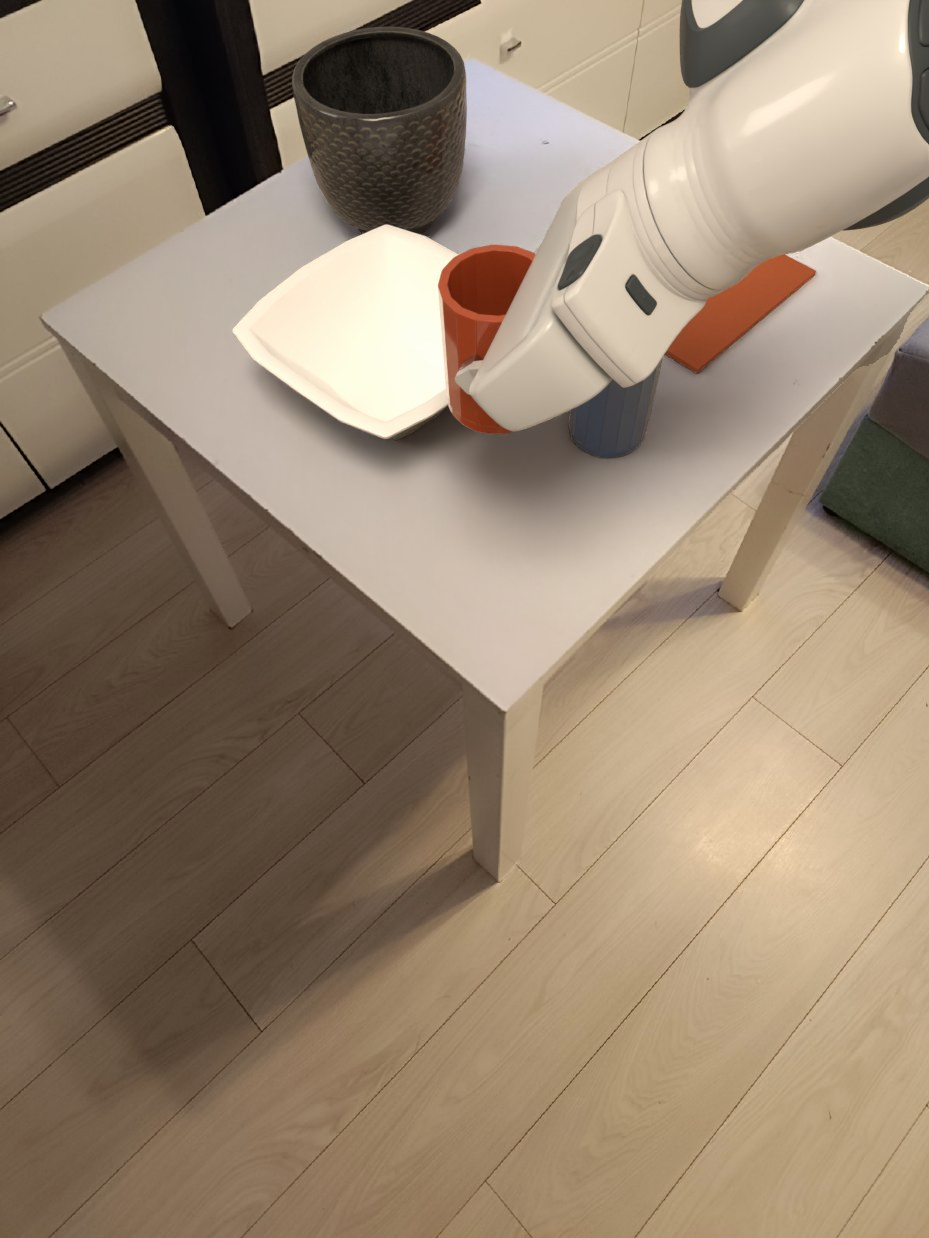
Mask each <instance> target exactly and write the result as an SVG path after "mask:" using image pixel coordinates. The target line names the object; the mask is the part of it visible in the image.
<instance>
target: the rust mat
mask: <svg viewBox="0 0 929 1238" xmlns="http://www.w3.org/2000/svg"><path fill="white" fill-rule="evenodd" d="M816 273H817V270H816V269H814V268H812V267H810V266H808V265H807V264H804V263H802V262H800V261H798V260H797V259H794V258H793V257H791V256H789V255H788V254H785V255H780V256H776V257H773V258H771V259H768V260H766V261H764V262H763V263H761V264H760V265H758V266H757V267H755V268H754V269H753V270H752V271H751V272H750V273H749V274H748V275H747V276H746V277H745V278H743V279H742V280H741V281H740V282H739V283H737V284H736V285H734V286H732V287H730V288H728V289H726V290H725V291H723V292H721V293H719V294H717V295H715V296H713V297H711V298H709V299H707V300H706V304H705V306H704V307H703V309H702V310H701V311H700V312H699V313H698V314H697V315H696V316H695V317H694V318H692V319H691V320H690V321H689V323H688V324H687V325H686V326H685V327H684V328H683V329H682V331H681V332H680V333H679V334H678V336H677V337H676V338H675V340H674V341H673V342H672V344H671V345H670V347H669V348H668V350H667V351H666V353H665V354H664V355H666V356H667V357H669V358H670V359H672V360H673V361H675V362H676V363H679V364H680V365H682V366H684V367H685V368H687V369H689V370H690V371H692V372H693V373H695V374H699V373H700V372H701V371H703V369H705V368H706V367H707V366H708V365H709V364H710V363H712V362H713V361H714V360H715V359H717V358H718V357H719V356H720V355H721V354H722V353H724V352H725V351H726V350H727V349H728V348H730V347H731V346H732V345H733V344H734V343H736V342H737V341H738V340H739V339H741V337H743V336H744V335H745V334H747V333H748V332H749V331H750V330H751V329H752V328H754V327H755V326H756V325H757V324H758V323H760V322H761V321H762V320H764V318H766V317H767V316H768V315H770V314H771V312H773V311H774V310H775V309H776V308H778V307H779V306H780V305H781V304H782V303H784V302H785V301H786V300H787V299H788V298H789V297H791V296H792V295H793V294H794V293H796V292H797V291H798V290H799V289H800V288H801V287H803V286H804V285H805V284H807V283H808V282H809V281H810V280H811V279H812V278H814V277H815V276H816Z"/></svg>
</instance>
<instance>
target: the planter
mask: <svg viewBox="0 0 929 1238" xmlns="http://www.w3.org/2000/svg"><path fill="white" fill-rule="evenodd" d="M466 72H467V71H466V66H465V62H464V60H463V58H462V55H461V54H460V52H459V51H458V50H457V49H456V47H454V45H452V44H451V43H450V42H448V41H447V40H445V39H443V38H442V37H440V36H438V35H435V34H433V33H430V32H427V31H423V30H420V29H417V28H409V27H403V26H401V27H400V26H375V27H365V28H360V29H359V28H358V29H354V30H349V31H347V32H343V33H340V34H337V35H334V36H331V37H330V38H327V39H325V40H323V41H321V42H320V43H318V44H316V45H314V46H313V47H311V48H310V49H309V50H307V52H305V54H304V55H302V57H301V58H300V59H299V60H298V61H297V63H296V65H295V66H294V69H293V72H292V76H291V87H292V94H293V99H294V104H295V108H296V114H297V119H298V124H299V127H300V132H301V136H302V139H303V142H304V147H305V150H306V154H307V157H308V160H309V163H310V166H311V170H312V173H313V176H314V178H315V181H316V184H317V186H318V188H319V190H320V191H321V193H322V195H323V197H324V198H325V200H326V202H327V203H328V205H329V206H330V208H331V209H332V210H333V211H334V212H335V213H336V214H337V215H338V216H339V217H340V218H342V219H343V220H344V221H346V222H347V223H348V224H350V225H352V226H353V227H355V228H357V229H358V230H359V231H360V232H361V233H362V234H364V233H366V232H369V231H371V230H373V229H376V228H378V227H380V226H383V225H391V226H394V227H397V228H401V229H404V230H407V231H410V232H413V233H417V234H420V235H423V233H424V232H426V231H427V230H428V229H429V228H430V227H431V225H432V224H433V222H434V221H435V220H436V219H437V218H439V216H440V215H441V214H442V213H443V212H444V211H445V210H446V209H447V208H448V206H449V204H450V203H451V202H452V200H453V199H454V197H455V194H456V192H457V189H458V186H459V184H460V181H461V177H462V174H463V173H462V172H463V168H464V161H465V151H466V139H467V117H468V114H467V113H468V102H467V99H468V98H467V97H468V96H467V73H466Z"/></svg>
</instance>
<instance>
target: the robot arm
mask: <svg viewBox="0 0 929 1238" xmlns="http://www.w3.org/2000/svg"><path fill="white" fill-rule="evenodd" d="M679 65H680V73H681V78H682V81H683V84H684V85H685V86H686V87H687V89H688V95H689V97H688V98H689V99H688V103H687V105H686V108H685V109H684V111H683V112H682V113H681V114H680V115H679V116H678V117H677V118H675V119H674V120H673V121H670V122H669V123H667V124H664V125H662V126H660V127H658V128H657V129H655V130H653V131H652V132H651V133H649V134H648V135H647V136H645V137H644V138H643V139H641V140H639V141H638V142H637V143H635V144H633V146H631V147H630V148H628V149H627V150H626V151H625V152H623V153H621V154H620V155H619V156H617V157H616V158H615V159H613V160H612V161H610V162H608V163H607V164H605V165H604V166H601V168H599V169H598V170H596V171H595V172H593V173H592V174H590V175H589V176H587V177H585V178H584V179H582V180H581V181H580V182H578V184H576V186H574V187H573V188H572V189H571V190H570V191H569V192H568V193H567V194H566V195H565V196H564V198H563V200H562V201H561V203H560V205H559V207H558V209H557V211H556V212H555V215H554V217H553V219H552V221H551V223H550V225H549V227H548V229H547V231H546V232H545V235H544V237H543V239H542V241H541V243H540V244H539V246H538V247H537V248H536V249H535V250H534V251H532V252H533V253H535V254H536V255H535V257H534V259H533V261H532V263H531V265H530V267H529V269H528V271H527V273H526V275H525V277H524V279H523V281H522V283H521V285H520V287H519V289H518V291H517V293H516V295H515V297H514V299H513V301H512V303H511V305H510V307H509V309H508V311H507V313H506V315H505V317H504V319H503V321H502V323H501V325H500V327H499V329H498V331H497V333H496V335H495V337H494V339H493V341H492V343H491V345H490V347H489V349H488V351H487V353H486V355H485V357H484V359H482V358H481V357H480V356H479V355H478V354H476V355H474V356H472V357H470V358H469V359H468V360H465V361H464V362H463V363H462V365H461V367H460V369H459V371H458V372H457V374H456V376H455V382H456V383H457V384H458V385H459V386H460V387H461V388H462V389H463V390H464V391H465V392H466V393H467V394H469V395H471V396H472V398H473V399H474V400H475V401H476V402H477V404H478V405H479V406H480V407H481V408H482V409H483V410H484V411H485V412H486V413H487V414H488V415H489V416H490V417H491V418H492V419H493V420H494V421H495V422H496V423H498V424H499V425H500V426H502V427H503V428H505V429H507V430H510V431H515V432H520V431H525V430H527V429H530V428H532V427H535V426H537V425H539V424H540V425H541V424H542V423H545V422H547V421H549V420H552V419H554V418H556V417H559V416H561V415H563V414H565V413H567V412H570V410H572V409H574V408H576V407H578V406H580V405H582V404H583V403H585V402H587V401H589V400H590V399H592V398H593V397H595V396H596V395H597V394H599V393H600V392H601V391H602V390H603V389H604V388H605V387H606V386H607V385H608V384H609V383H610V382H611V381H612V379H614V380H615V381H616V382H617V383H618V384H619V385H620V386H621V387H623V388H626V387H630V386H633V385H635V384H637V383H639V382H641V381H643V380H644V379H646V378H647V377H648V376H649V375H650V374H651V373H652V372H653V371H654V369H655V368H656V366H657V365H658V363H659V362H660V360H661V359H662V357H663V358H664V356H665V355H666V354H665V353H666V351H667V350H668V348H669V347H670V345H671V344H672V342H673V341H674V340H675V338H676V337H677V336H678V334H679V333H680V332H681V331H682V329H683V328H684V327H685V326H686V325H687V324H688V323H689V321H690V320H691V319H692V318H694V317H695V316H696V315H697V314H698V313H699V312H700V311H701V310H702V309H703V307H704V306H705V304H706V300H707V299H709V298H711V297H713V296H715V295H717V294H719V293H721V292H723V291H725V290H726V289H728V288H730V287H732V286H734V285H736V284H737V283H739V282H740V281H741V280H742V279H743V278H745V277H746V276H747V275H748V274H749V273H750V272H751V271H752V270H753V269H754V268H755V267H757V266H758V265H760V264H761V263H763V262H764V261H766V260H768V259H771V258H773V257H776V256H780V255H790V254H796V253H799V252H801V251H804V250H807V249H809V248H811V247H814V246H815V245H817V244H818V243H821V242H823V241H825V240H827V239H829V238H831V237H833V236H834V235H837V234H838V233H840V232H844V231H855V230H856V231H857V230H862V229H863V230H864V229H868V228H874V227H877V226H881V225H883V224H887V223H889V222H892V221H895V220H897V219H899V218H900V217H904V216H905V215H907V214H908V213H910V212H911V211H913V210H915V209H916V208H918V207H919V206H922V204H924V203H925V202H926V201H928V200H929V0H681V5H680V13H679ZM662 360H663V359H662Z"/></svg>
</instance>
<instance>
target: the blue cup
mask: <svg viewBox="0 0 929 1238" xmlns="http://www.w3.org/2000/svg"><path fill="white" fill-rule="evenodd" d="M663 359H664V356H663V357H662V359H661V360H660V362H659V363H658V365H657V366H656V368H655V369H654V371H653V372H652V373H651V374H650V375H649V376H648V377H647V378H646V379H644V380H643V381H641V382H639V383H637V384H635V385H633V386H630V387H626V388H623V387H621V386H620V385H619V384H618V383H617V382H616V381H615V380H614V379H612V381H611V382H610V383H609V384H608V385H607V386H606V387H605V388H604V389H603V390H602V391H601V392H600V393H599V394H597V395H596V396H595V397H593V398H592V399H590V400H589V401H587V402H585V403H583V404H582V405H580V406H578V407H576V408H574V409H572V410H569V418H568V419H569V421H568V433H569V437H570V438H571V440H572V442H573V443H574V444H575V446H576V447H577V448H579V449H580V450H581V451H582V452H584V453H586V454H588V455H590V456H593V457H597V458H601V459H617V458H621V457H625V456H628V455H630V454H632V453H634V452H635V451H636V450H637V449H639V447H641V445H642V444H643V442H644V440H645V437H646V434H647V432H648V428H649V423H650V419H651V414H652V410H653V406H654V405H653V404H654V401H655V400H654V399H655V396H656V391H657V386H658V381H659V377H660V373H661V367H662V363H663Z"/></svg>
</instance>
